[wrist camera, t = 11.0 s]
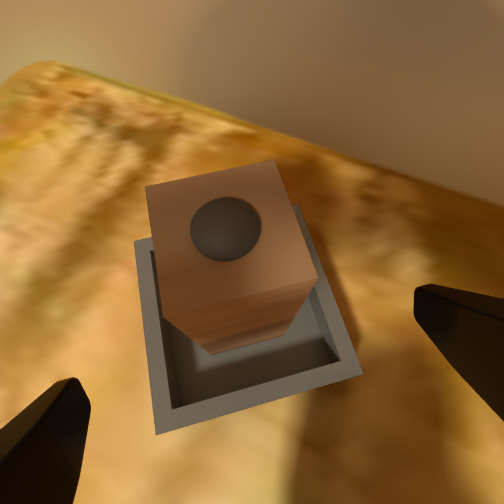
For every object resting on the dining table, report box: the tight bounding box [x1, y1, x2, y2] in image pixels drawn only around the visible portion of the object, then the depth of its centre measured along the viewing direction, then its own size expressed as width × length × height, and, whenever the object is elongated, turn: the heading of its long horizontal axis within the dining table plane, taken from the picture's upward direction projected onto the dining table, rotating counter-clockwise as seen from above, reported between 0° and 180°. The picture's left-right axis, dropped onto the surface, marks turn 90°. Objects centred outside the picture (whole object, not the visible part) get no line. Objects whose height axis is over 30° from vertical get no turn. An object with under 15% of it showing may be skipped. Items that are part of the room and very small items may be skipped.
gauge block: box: [145, 160, 318, 355], centre depth 16 cm, size 5×5×12 cm
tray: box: [134, 204, 364, 435], centre depth 21 cm, size 12×12×3 cm
